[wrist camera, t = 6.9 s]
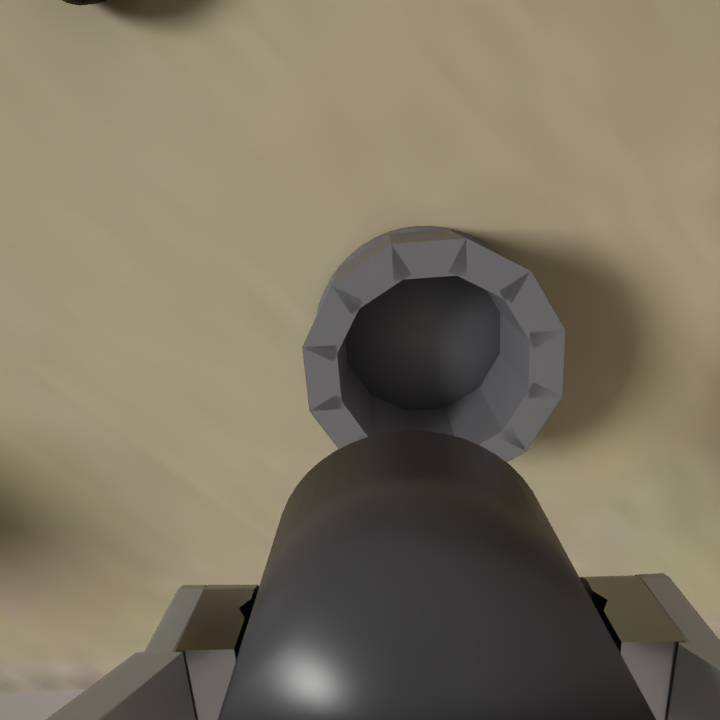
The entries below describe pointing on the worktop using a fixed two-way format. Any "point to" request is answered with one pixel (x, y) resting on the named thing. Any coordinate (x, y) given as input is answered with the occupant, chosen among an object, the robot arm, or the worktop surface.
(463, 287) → the faceted grey cup
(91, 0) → the potato
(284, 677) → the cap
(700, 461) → the worktop surface
